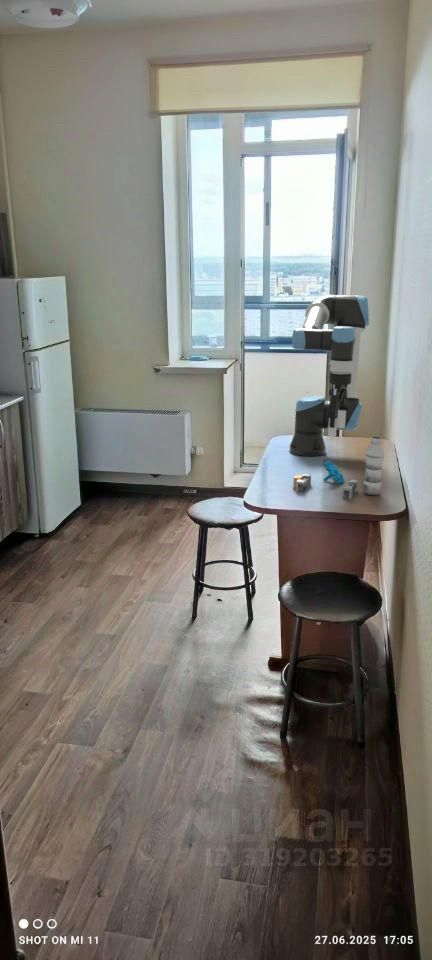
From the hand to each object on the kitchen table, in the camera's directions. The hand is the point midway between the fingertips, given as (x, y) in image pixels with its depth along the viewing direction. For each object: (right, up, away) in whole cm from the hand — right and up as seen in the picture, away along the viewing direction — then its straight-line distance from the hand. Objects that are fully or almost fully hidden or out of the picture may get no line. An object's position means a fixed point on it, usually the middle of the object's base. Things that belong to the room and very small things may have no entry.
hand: (336, 432), depth 241 cm
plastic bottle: (+11, -22, -7) cm, 25 cm away
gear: (0, -18, +6) cm, 19 cm away
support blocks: (-4, -21, -5) cm, 22 cm away
